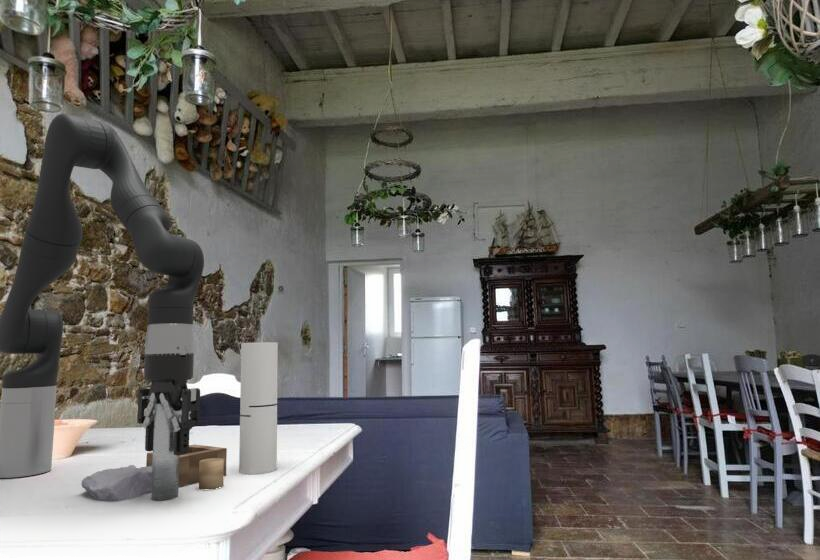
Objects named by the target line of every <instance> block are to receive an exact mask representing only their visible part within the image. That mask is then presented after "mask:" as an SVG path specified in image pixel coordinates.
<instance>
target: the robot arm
mask: <svg viewBox="0 0 820 560" xmlns="http://www.w3.org/2000/svg"><path fill="white" fill-rule="evenodd" d="M44 140H45V141H44V146H43V153H42V159H41V167H40V171H39V180H38V184H37V189H36V193H35V198H34V201H33V205H32V209H31V212H30V216H29V219H28V221H27V225H26V229H25V231H24V232H25V233H24V236H23V239H22V244H21V248H20V253H19V257H18V263H17V266H16V271H15V274H14V278H13V281H12V285H11V287H10V290H9V292H8V295H7V298H6V301H5V303H4V307H3V308H2V312H1V315H0V352H1V353H3V354H10V355H11V354H12V355H20V354H22V355H25V354H27V355H28V354H29V355H32V354H37V358H36V359H35V360H34V361H33V362H32V363H30V364H29V365H27V366H25V367H22V368H19V369H16V370H13V371H10V372H7V373H5V374H4V375H3V377H2V383H1V397H0V399H1V400H0V478H1V479H2V478H3V479H9V478H10V479H11V478H22V477H29V476H34V475H40V474H45V473H48V472H50V471H51V470H52V462H53V450H54V437H55V436H54V435H55V433H54V432H55V421H56V420H55V419H56V417H55V416H56V403H57V402H56V401H57V384H58V375H59V369H60V358H61V349H62V348H61V347H62V342H63V341H62V340H63V335H64V334H63V333H64V332H63V331H64V322H63V321H64V320H63V316H62V314H60V312H59V311H57V310H54V309H53V310H51V309H30V307H31V305H32V304H33V303H34V301H35V299H36V298H37V297H38V296H39V295H40V294H41V293H42V292H43V291H44V290H45V289H46V288H48V287H49V286H50V285H52V283H54V282H55V281H56V280H58V279H59V278H60V277H61V276H63V275H64V274H65V273H66V272H68V270H70V268H71V267H72V266H73V264H75V261H76V259H77V258H78V252H79V250H80V245H81V242H82V240H83V233H84V231H83V226H82V222H81V219H80V216H79V214H78V212H77V209H76V207H75V205H74V203H73V200H72V197H71V193H70V184H71V176H72V174H73V173H72V172H73V170H74V167H76V168H77V167H79V168H85V169H91V170H100V171H102V173H104V175H106V176H107V177H108V178H109V180H111V183H112V185H111V190H110V196H109V197H110V204H111V208H112V210H113V212H114V214H115V216H116V217H117V219H118V220H119V221H120V222H121V224H122V225H123V227H124V228H125V230H126V231H127V232H128V233H129V234H130V237H131V241H132V245H133V247H134V250H135V253H136V256H137V259H138V260H139V261H140V263H141V264H142V266H143V267H145V268H146V270H148V271H150V272H152V273H154V274H157V275H162V276H167V277H168V280H167V282H166V286H165V288H163V289H157V290H154V291H153V292H151V294H150V296H149V298H148V310H147V311H148V312H147V315H148V316H147V328H146V334H145V335H146V336H145V340H144V341H145V343H144V344H145V345H144V347H145V348H144V365H143V366H144V367H143V370H144V371H143V380H144V381H145V382H150V383H151V384H150V386H149V387H148V386H147V387H140V388H139V389H138V395H137V397H138V398H137V419H136V420H137V424H140V425H142V426H143V428H144V429H145V436H144V438H145V441H144V449H145V451H146V452H153V438H154V412H155V404H156V403H159V404H163V405H164V408H165V411H166V414H167V417H168V419H170V420H172V423H173V426H174V428H175V431H176V432H174V449H173V453H174V455H177V456H179V455H184V454H187V453H188V449H189V445H190V431H191V430H192V428H194V427H198V426H199V425H200V419H201V418H200V415H201V414H200V413H201V389H200V388H198V387H197V388H195V387H194V388H188V381H189V380H191V379H193V378H194V364H195V363H194V361H195V360H194V358H195V357H194V356H195V354H194V353H195V333H194V301H195V298H196V295H197V292H198V289H199V285H200V282H201V278H202V275H203V272H204V266H205V257H204V256H205V255H204V253H203V249H202V248H201V246H200V245H199V243H198V242H196V241H194V240H192V239H190V238H187V237H182V236H178V235H176V234H175V235H174V234H172V233H170V229H171V219H170V217H169V216H168V214H167V212H166V211H165V210H164V209H163V207H162V205H160V203H159V202H158V201H157V199H156V198H155V197H154V196H153V195H152V193H151V192H150V191H149V189H148V188H147V186H146V185H145V183H144V181H143V180H142V178H141V176H140V174H139V171H138V170H137V168H136V166H135V165H134V162H133V160H132V158H131V156H130V154H129V153H128V151H127V148H126V147H125V144H124V143H123V141H122V139H121V137H120V135H119V134H118V131H116V130H115V128H114V127H112V126H111V125H109V124H107V123H105V122H102V121H98V120H95V119H91V118H87V117H83V116H79V115H74V114H69V113H60V114H57V115H56V116H55V117H54V118H52V120H51V121H50V124H49V127H48V129H47V131H46V136H45V139H44ZM180 410H181V411H180ZM191 413H192V418H191V416H190V414H191ZM179 418H181V423H180V420H179Z"/></svg>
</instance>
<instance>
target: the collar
mask: <svg viewBox="0 0 820 560" xmlns="http://www.w3.org/2000/svg"><path fill="white" fill-rule="evenodd" d="M227 457H228V454H227V447H219V446H211V445H202V444H191V445H190V444H189V449H188V453H187V454H184V455H180V457H179V488H182V487H186V486H189V484H190V485H193V483H194V484H197V482H198V483H199V461H201V460H204V459H210V458H223V459H224V476H223V477H225V476H227ZM152 464H153V451H149V452H147V453H146V464H145V465H146V466H145V467H147V466H152ZM185 485H186V486H185ZM181 486H182V487H181Z"/></svg>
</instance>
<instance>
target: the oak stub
mask: <svg viewBox="0 0 820 560" xmlns="http://www.w3.org/2000/svg"><path fill="white" fill-rule="evenodd" d="M224 477H225V476H224V459H223V458H210V459H204V460H201V461H199V482H198V490H200V489H213V490H217V489H216V488H218V489H220V488H219V487H221V488H223V487H224ZM222 486H223V487H222Z"/></svg>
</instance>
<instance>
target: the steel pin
mask: <svg viewBox="0 0 820 560" xmlns="http://www.w3.org/2000/svg"><path fill="white" fill-rule="evenodd" d="M180 411H182V409H181V410H180ZM179 420H180V423H181V420H182V418H179ZM174 432H176V431H175V428H174V426H173V423H172V420H170V419H168V417H167V414H166V411H165V408H164V405H163V404H159V403H156V404H155V412H154V438H153V451H152V452H153V464H152V490H151V493H150V495H151V496H150V500H151V501H154V502H155V501H156V502H161V501H162V502H163V501H169V500H174V499H176V498H178V497H179V488H180V487H179V457H180V455H179V456H177V455H174V453H173V449H174ZM173 498H174V499H173Z"/></svg>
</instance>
